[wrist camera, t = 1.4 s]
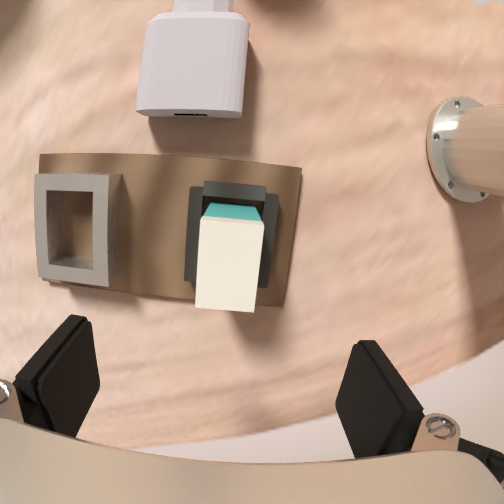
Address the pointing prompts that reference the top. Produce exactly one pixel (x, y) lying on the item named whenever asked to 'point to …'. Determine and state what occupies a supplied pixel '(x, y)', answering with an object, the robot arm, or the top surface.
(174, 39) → the charger
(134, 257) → the brown socket board
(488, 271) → the top surface
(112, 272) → the frame
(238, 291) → the plug
